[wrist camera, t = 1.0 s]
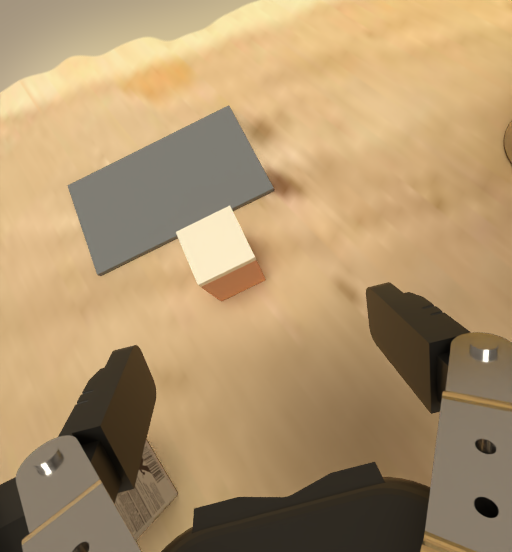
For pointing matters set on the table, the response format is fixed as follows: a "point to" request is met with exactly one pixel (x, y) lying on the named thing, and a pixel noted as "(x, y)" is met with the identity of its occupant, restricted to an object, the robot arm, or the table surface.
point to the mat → (167, 189)
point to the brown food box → (146, 494)
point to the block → (220, 255)
